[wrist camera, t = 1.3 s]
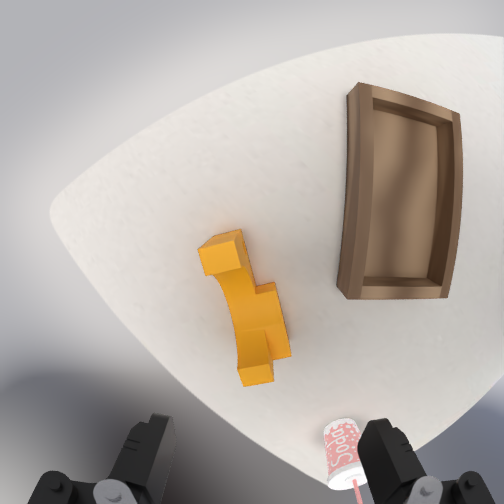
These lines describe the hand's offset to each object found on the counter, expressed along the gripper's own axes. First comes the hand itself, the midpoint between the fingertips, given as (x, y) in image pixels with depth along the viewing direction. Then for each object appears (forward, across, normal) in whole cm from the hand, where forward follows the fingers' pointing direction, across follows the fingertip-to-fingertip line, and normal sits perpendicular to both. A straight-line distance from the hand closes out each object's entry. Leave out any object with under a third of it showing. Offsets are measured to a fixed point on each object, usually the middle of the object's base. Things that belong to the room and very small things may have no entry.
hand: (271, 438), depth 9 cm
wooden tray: (+17, -12, -11) cm, 23 cm away
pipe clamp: (+18, +1, 0) cm, 18 cm away
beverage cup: (+17, -12, +19) cm, 29 cm away
